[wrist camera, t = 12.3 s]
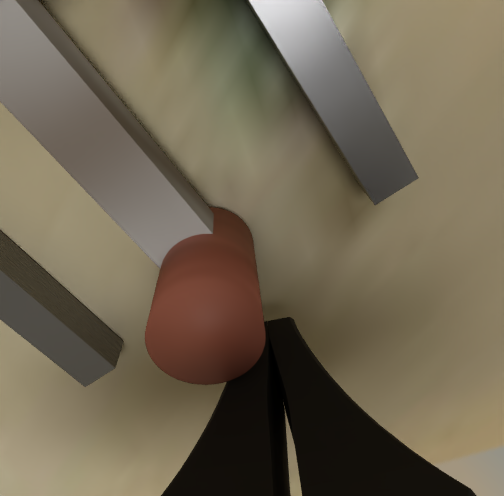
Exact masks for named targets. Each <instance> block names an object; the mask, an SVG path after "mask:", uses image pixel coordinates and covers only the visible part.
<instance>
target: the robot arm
mask: <svg viewBox="0 0 504 496" xmlns="http://www.w3.org/2000/svg"><path fill="white" fill-rule="evenodd" d="M264 326H265V336H266V340H265V346H264V349H263V352H262V354H261V356H260V358H259V359H258V361H257V362H256V363H255V365H254V366H253V367H252V368H251V369H249V370H248V371H247V372H246V373H244V374H242V375H241V376H239V377H237V378H235V379H232V380H230V381H227V383H226V385H225V388H224V390H223V392H222V395H221V397H220V399H219V401H218V404H217V406H216V408H215V410H214V412H213V414H212V416H211V418H210V420H209V422H208V424H207V426H206V428H205V430H204V431H203V433H202V435H201V437H200V439H199V440H198V442H197V444H196V445H195V447H194V449H193V450H192V452H191V453H190V455H189V457H188V458H187V460H186V461H185V463H184V465H183V466H182V468H181V469H180V471H179V472H178V473H177V475H176V476H175V478H174V479H173V480H172V482H171V483H170V484H169V486H168V487H167V488H166V490H165V491H164V492H163V494H162V495H161V496H291V495H290V485H289V469H288V454H287V438H286V423H285V411H286V414H287V418H288V422H289V425H290V429H291V433H292V437H293V440H294V444H295V449H296V456H297V463H298V469H299V476H300V483H301V490H302V496H476V495H475V493H474V492H473V491H472V490H471V489H470V488H468V487H467V486H465V485H464V484H462V483H460V482H459V481H457V480H455V479H454V478H452V477H451V476H449V475H447V474H446V473H444V472H442V471H441V470H439V469H438V468H437V467H435V466H434V465H432V464H431V463H429V462H428V461H426V460H425V459H424V458H422V457H421V456H419V455H418V454H416V453H415V452H414V451H412V450H411V449H409V448H408V447H407V446H406V445H404V444H403V443H402V442H401V441H399V440H398V439H397V438H395V437H394V436H393V435H392V434H390V433H389V432H388V431H387V430H385V429H384V428H383V427H382V426H380V425H379V424H378V423H377V422H376V421H375V420H374V419H372V418H371V417H370V416H369V415H368V414H367V413H366V412H365V411H364V410H363V409H361V408H360V407H359V406H358V405H357V404H356V403H355V402H354V401H353V400H352V399H351V398H350V397H349V396H348V395H347V394H346V393H345V391H344V390H343V389H342V388H341V387H340V386H339V385H338V384H337V383H336V382H335V380H334V379H333V378H332V377H331V376H330V375H329V373H328V372H327V371H326V370H325V369H324V367H323V366H322V365H321V363H320V362H319V361H318V359H317V358H316V357H315V355H314V354H313V353H312V351H311V350H310V348H309V347H308V345H307V344H306V342H305V341H304V339H303V338H302V336H301V334H300V332H299V331H298V329H297V326H296V324H295V322H294V320H293V319H292V318H290V317H287V318H282V319H276V320H271V321H268V324H267V321H266V322H264ZM283 402H284V403H283ZM284 406H285V409H284Z"/></svg>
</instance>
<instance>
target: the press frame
mask: <svg viewBox="0 0 504 496" xmlns="http://www.w3.org/2000/svg"><path fill="white" fill-rule="evenodd" d="M245 1H246V2H247V4H248V6H249V7H250V9H251V10H252V12H253V14H254V15H255V17H256V18H257V20H258V22H259V23H260V25H261V27H262V28H263V30H264V31H265V33H266V35H267V36H268V38H269V39H270V41H271V43H272V44H273V46H274V48H275V49H276V51H277V52H278V54H279V56H280V57H281V59H282V60H283V62H284V64H285V65H286V67H287V69H288V70H289V72H290V73H291V75H292V77H293V78H294V80H295V81H296V83H297V85H298V86H299V88H300V90H301V91H302V93H303V94H304V96H305V98H306V99H307V101H308V102H309V104H310V106H311V107H312V109H313V111H314V112H315V114H316V115H317V117H318V119H319V120H320V122H321V124H322V125H323V127H324V128H325V130H326V132H327V133H328V135H329V136H330V138H331V140H332V141H333V143H334V145H335V146H336V148H337V149H338V151H339V153H340V154H341V156H342V157H343V159H344V161H345V162H346V164H347V166H348V167H349V169H350V170H351V172H352V174H353V175H354V177H355V178H356V180H357V182H358V183H359V185H360V187H361V188H362V189H363V191H364V192H365V193H366V195H367V196H368V197H369V198H370V200H371V201H372V202H373V203H374V205H376V204H378V203H379V202H381V201H383V200H384V199H386V198H387V197H389V196H391V195H392V194H394V193H395V192H397V191H399V190H400V189H402V188H403V187H405V186H407V185H408V184H410V183H411V182H413V181H415V180H416V179H418V176H417V174H416V172H415V170H414V168H413V167H412V165H411V163H410V161H409V159H408V157H407V156H406V154H405V152H404V150H403V148H402V146H401V144H400V143H399V141H398V139H397V137H396V135H395V133H394V132H393V130H392V128H391V126H390V124H389V122H388V121H387V119H386V117H385V115H384V113H383V111H382V109H381V108H380V106H379V104H378V102H377V100H376V98H375V97H374V95H373V93H372V91H371V89H370V87H369V86H368V84H367V82H366V80H365V78H364V76H363V75H362V73H361V71H360V69H359V67H358V65H357V63H356V62H355V60H354V58H353V56H352V54H351V52H350V51H349V49H348V47H347V45H346V43H345V41H344V40H343V38H342V36H341V34H340V32H339V30H338V28H337V27H336V25H335V23H334V21H333V19H332V17H331V16H330V14H329V12H328V10H327V8H326V6H325V5H324V3H323V1H322V0H245ZM0 320H2V321H3V322H4V323H5V324H7V325H8V326H9V327H10V328H12V329H13V330H14V331H15V332H17V333H18V334H19V335H21V336H22V337H23V338H24V339H26V340H27V341H28V342H29V343H31V344H32V345H33V346H34V347H36V348H37V349H38V350H39V351H41V352H42V353H43V354H44V355H46V356H47V357H48V358H49V359H51V360H52V361H53V362H54V363H56V364H57V365H58V366H59V367H61V368H62V369H63V370H64V371H66V372H67V373H68V374H69V375H71V376H72V377H73V378H74V379H76V380H77V381H78V382H79V383H81V384H82V385H83V386H84V387H86V386H88V385H89V384H91V383H92V382H94V381H96V380H97V379H99V378H100V377H102V376H104V375H105V374H107V373H108V372H110V371H112V370H113V369H115V368H116V364H117V361H118V358H119V354H120V351H121V348H122V344H123V340H121V339H120V338H119V337H118V336H117V335H116V334H115V333H114V332H113V331H111V330H110V329H109V328H108V327H107V326H106V325H105V324H104V323H102V322H101V321H100V320H99V319H98V318H97V317H96V316H95V315H94V314H92V313H91V312H90V311H89V310H88V309H87V308H86V307H85V306H84V305H82V304H81V303H80V302H79V301H78V300H77V299H76V298H75V297H74V296H72V295H71V294H70V293H69V292H68V291H67V290H66V289H65V288H64V287H62V286H61V285H60V284H59V283H58V282H57V281H56V280H55V279H54V278H52V277H51V276H50V275H49V274H48V273H47V272H46V271H45V270H44V269H42V268H41V267H40V266H39V265H38V264H37V263H36V262H35V261H34V260H32V259H31V258H30V257H29V256H28V255H27V254H26V253H25V252H23V251H22V250H21V249H20V248H19V247H18V246H17V245H16V244H15V243H13V242H12V241H11V240H10V239H9V238H8V237H7V236H6V235H5V234H3V233H2V232H1V231H0Z"/></svg>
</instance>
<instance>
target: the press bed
mask: <svg viewBox="0 0 504 496" xmlns="http://www.w3.org/2000/svg"><path fill="white" fill-rule="evenodd" d="M0 102H1V103H2V104H3V105H4V106H5V107H6V108H7V109H8V110H9V111H10V112H11V113H12V114H13V115H14V116H15V117H16V119H17V120H18V121H19V122H20V123H21V124H22V125H23V126H24V127H25V128H26V129H27V130H28V131H29V132H30V133H31V134H32V135H33V136H34V137H35V138H36V139H37V141H38V142H39V143H40V144H41V145H42V146H43V147H44V148H45V149H46V150H47V151H48V152H49V153H50V154H51V155H52V156H53V157H54V158H55V159H56V160H57V161H58V162H59V164H60V165H61V166H62V167H63V168H64V169H65V170H66V171H67V172H68V173H69V174H70V175H71V176H72V177H73V178H74V179H75V180H76V181H77V182H78V183H79V184H80V186H81V187H82V188H83V189H84V190H85V191H86V192H87V193H88V194H89V195H90V196H91V197H92V198H93V199H94V200H95V201H96V202H97V203H98V204H99V205H100V206H101V207H102V209H103V210H104V211H105V212H106V213H107V214H108V215H109V216H110V217H111V218H112V219H113V220H114V221H115V222H116V223H117V224H118V225H119V226H120V227H121V228H122V229H123V231H124V232H125V233H126V234H127V235H128V236H129V237H130V238H131V239H132V240H133V241H134V242H135V243H136V244H137V245H138V246H139V247H140V248H141V249H142V250H143V251H144V252H145V254H146V255H147V256H148V257H149V258H150V259H151V260H152V261H153V262H154V263H155V264H156V265H157V266H158V267H159V268H160V272H159V277H158V281H157V285H156V289H155V293H154V297H153V301H152V305H151V310H150V314H149V318H148V322H147V326H146V331H145V343H146V348H147V351H148V353H149V355H150V357H151V359H152V360H153V361H154V363H155V364H156V365H157V366H158V367H159V368H160V369H161V370H162V371H164V372H165V373H167V374H168V375H170V376H172V377H174V378H176V379H178V380H181V381H184V382H188V383H192V384H202V385H209V384H218V383H223V382H227V381H230V380H232V379H235V378H237V377H239V376H241V375H242V374H244V373H246V372H247V371H248V370H249V369H251V368H252V367H253V366H254V365H255V363H256V362H257V361H258V359H259V358H260V356H261V354H262V352H263V349H264V346H265V340H266V336H265V326H264V319H263V311H262V304H261V296H260V289H259V281H258V274H257V266H256V259H255V251H254V244H253V238H252V235H251V232H250V230H249V228H248V227H247V225H246V224H245V223H244V222H243V220H242V219H240V218H239V217H238V216H236V215H235V214H233V213H231V212H229V211H227V210H224V209H220V208H212V207H208V206H207V205H206V203H205V202H204V201H203V200H202V199H201V197H200V196H199V195H198V194H197V193H196V191H195V190H194V189H193V188H192V186H191V185H190V184H189V183H188V182H187V180H186V179H185V178H184V177H183V176H182V174H181V173H180V172H179V171H178V169H177V168H176V167H175V166H174V165H173V163H172V162H171V161H170V160H169V159H168V157H167V156H166V155H165V154H164V152H163V151H162V150H161V149H160V148H159V146H158V145H157V144H156V143H155V142H154V140H153V139H152V138H151V137H150V135H149V134H148V133H147V132H146V131H145V129H144V128H143V127H142V126H141V124H140V123H139V122H138V121H137V120H136V118H135V117H134V116H133V115H132V114H131V112H130V111H129V110H128V109H127V107H126V106H125V105H124V104H123V103H122V101H121V100H120V99H119V98H118V97H117V95H116V94H115V93H114V92H113V90H112V89H111V88H110V87H109V86H108V84H107V83H106V82H105V81H104V80H103V78H102V77H101V76H100V75H99V73H98V72H97V71H96V70H95V69H94V67H93V66H92V65H91V64H90V62H89V61H88V60H87V59H86V58H85V56H84V55H83V54H82V53H81V52H80V50H79V49H78V48H77V47H76V45H75V44H74V43H73V42H72V41H71V39H70V38H69V37H68V36H67V35H66V33H65V32H64V31H63V30H62V28H61V27H60V26H59V25H58V24H57V22H56V21H55V20H54V19H53V18H52V16H51V15H50V14H49V13H48V11H47V10H46V9H45V8H44V7H43V5H42V4H41V3H40V2H39V0H0Z"/></svg>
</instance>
